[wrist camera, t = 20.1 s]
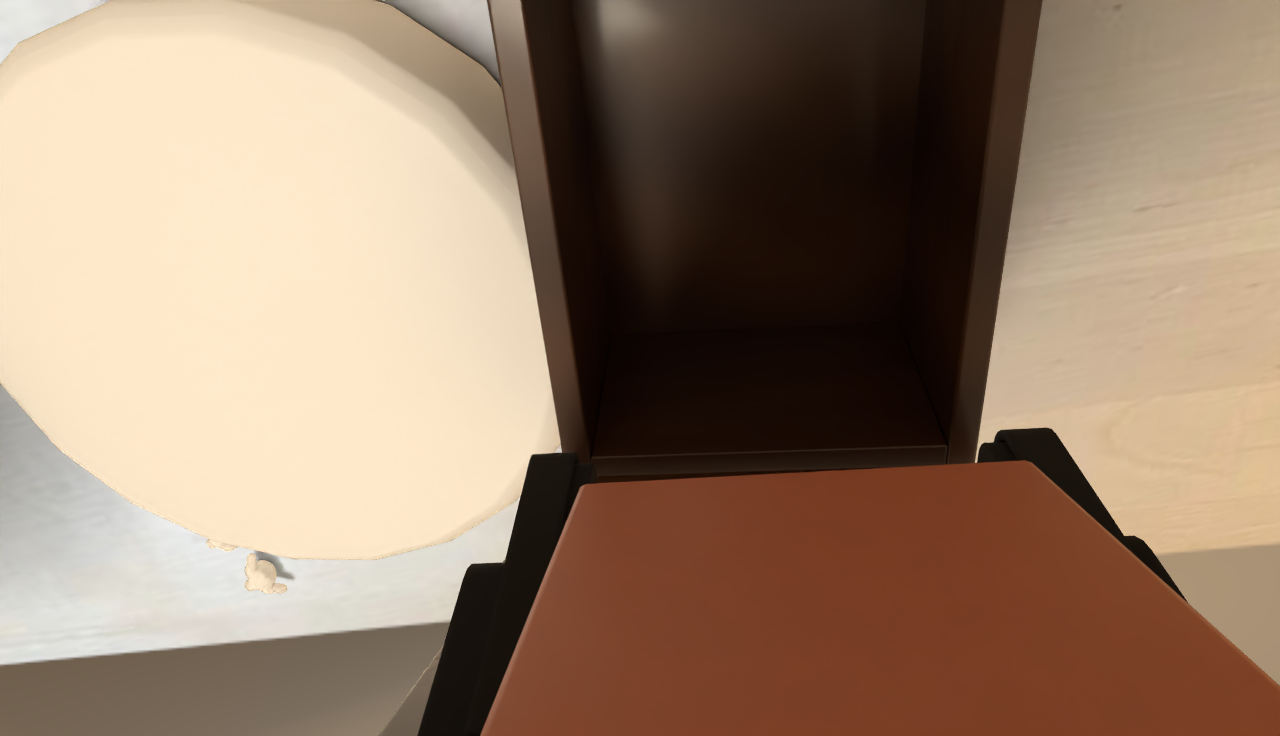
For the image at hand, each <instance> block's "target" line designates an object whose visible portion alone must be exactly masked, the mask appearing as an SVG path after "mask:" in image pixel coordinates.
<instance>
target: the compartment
mask: <svg viewBox="0 0 1280 736" xmlns="http://www.w3.org/2000/svg"><path fill="white" fill-rule="evenodd" d="M487 3H488V9H489V15H490V21H491V27H492V33H493V39H494V45H495V51H496V57H497V63H498V69H499V75H500V81H501V87H502V93H503V99H504V105H505V111H506V117H507V123H508V129H509V135H510V141H511V147H512V153H513V159H514V165H515V171H516V177H517V183H518V189H519V195H520V201H521V208H522V214H523V220H524V226H525V232H526V238H527V244H528V250H529V256H530V262H531V268H532V274H533V280H534V286H535V292H536V298H537V304H538V310H539V316H540V322H541V328H542V334H543V340H544V346H545V352H546V358H547V364H548V370H549V376H550V382H551V388H552V394H553V400H554V406H555V412H556V418H557V424H558V430H559V436H560V442H561V448H562V453H566V452H576V453H577V454H578V457H579V460H580V464H581V463H594V464H595V467H596V472H597V476H616V475H648V474H680V473H712V472H744V471H776V470H808V469H840V468H872V467H904V466H930V465H949V464H968V463H975V458H976V451H977V444H978V437H979V430H980V423H981V417H982V410H983V403H984V396H985V389H986V382H987V376H988V369H989V362H990V355H991V348H992V341H993V335H994V328H995V321H996V314H997V307H998V300H999V294H1000V287H1001V280H1002V273H1003V266H1004V259H1005V253H1006V246H1007V239H1008V232H1009V225H1010V218H1011V212H1012V205H1013V198H1014V191H1015V184H1016V178H1017V171H1018V164H1019V157H1020V150H1021V143H1022V137H1023V130H1024V123H1025V116H1026V109H1027V102H1028V96H1029V89H1030V82H1031V75H1032V68H1033V61H1034V55H1035V48H1036V41H1037V34H1038V27H1039V20H1040V14H1041V7H1042V0H487Z"/></svg>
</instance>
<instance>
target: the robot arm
mask: <svg viewBox="0 0 1280 736" xmlns="http://www.w3.org/2000/svg"><path fill="white" fill-rule="evenodd" d="M1023 460H1025V461H1028V462H1031V463H1033V464H1034V465H1035V466H1036V467H1037V468H1038V469H1039V470H1041V471H1042V472H1043V473H1044V474H1045V475H1046V476H1047V477H1048V478H1049V479H1051V480H1052V481H1053V482H1054V483H1055V484H1056V485H1057V486H1058V487H1059V488H1061V489H1062V490H1063V491H1064V492H1065V493H1066V494H1067V495H1068V496H1069V497H1071V498H1072V499H1073V500H1074V501H1075V502H1076V503H1077V504H1078V505H1079V506H1081V507H1082V508H1083V509H1084V510H1085V511H1086V512H1087V513H1088V514H1089V515H1091V516H1092V517H1093V518H1094V519H1095V520H1096V521H1097V522H1098V523H1099V524H1101V525H1102V526H1103V527H1104V528H1105V529H1106V530H1107V531H1108V532H1109V533H1111V534H1112V535H1113V536H1114V537H1115V538H1116V539H1117V540H1118V541H1119V542H1121V543H1122V544H1123V545H1124V546H1125V547H1126V548H1127V549H1128V550H1129V551H1131V552H1132V553H1133V554H1134V555H1135V556H1136V557H1137V558H1138V559H1139V560H1141V561H1142V562H1143V563H1144V564H1145V565H1146V566H1147V567H1148V568H1149V569H1151V570H1152V571H1153V572H1154V573H1155V574H1156V575H1157V576H1158V577H1159V578H1161V579H1162V580H1163V581H1164V582H1165V583H1166V584H1167V585H1168V586H1169V587H1171V588H1172V589H1173V590H1174V591H1175V592H1176V593H1177V594H1178V595H1179V596H1181V597H1182V598H1183V599H1184V600H1185V601H1186V602H1187V600H1186V599H1185V598H1184V596H1183V595H1182V593H1181V592H1180V591H1179V589H1178V587H1177V586H1176V585H1175V583H1174V582H1173V580H1172V579H1171V577H1170V576H1169V574H1168V573H1167V572H1166V570H1165V569H1164V567H1163V566H1162V565H1161V563H1160V561H1159V560H1158V559H1157V557H1156V556H1155V554H1154V553H1153V551H1152V550H1151V549H1150V548H1149V547H1148V545H1147V544H1146V543H1145V542H1144V541H1143V540H1141V539H1139V538H1137V537H1135V536H1124V535H1123V533H1122V532H1121V530H1120V529H1119V527H1118V526H1117V524H1116V523H1115V521H1114V520H1113V518H1112V517H1111V515H1110V514H1109V512H1108V511H1107V509H1106V508H1105V506H1104V505H1103V503H1102V502H1101V500H1100V499H1099V497H1098V496H1097V494H1096V493H1095V491H1094V490H1093V488H1092V487H1091V485H1090V484H1089V482H1088V481H1087V479H1086V478H1085V476H1084V475H1083V473H1082V472H1081V470H1080V469H1079V467H1078V466H1077V464H1076V463H1075V461H1074V460H1073V458H1072V457H1071V455H1070V454H1069V452H1068V451H1067V449H1066V448H1065V446H1064V445H1063V443H1062V442H1061V440H1060V439H1059V437H1058V436H1057V434H1056V433H1055V432H1054V431H1053V430H1052V429H1050V428H1031V429H1012V430H1000V431H999V432H997V434H996V436H995V439H994V443H983V444H982V445H981V447H980V449H979V454H978V461H977V463H986V462H1005V461H1023ZM596 483H598V479H597V472H596V467H595V464H594V463H581V464H580V460H579V457H578V454H577V453H576V452H566V453H547V454H533V455H532V456H531V458H530V460H529V464H528V468H527V472H526V477H525V481H524V485H523V489H522V493H521V497H520V501H519V506H518V510H517V514H516V518H515V522H514V526H513V530H512V535H511V539H510V543H509V547H508V551H507V555H506V559H505V563H482V564H471V565H470V566H469V567H468V568H467V571H466V573H465V576H464V578H463V581H462V585H461V588H460V592H459V595H458V598H457V602H456V605H455V609H454V612H453V615H452V619H451V622H450V626H449V629H448V633H447V636H446V639H445V643H444V646H443V650H442V653H441V656H440V660H439V663H438V667H437V670H436V673H435V677H434V680H433V684H432V687H431V690H430V694H429V697H428V701H427V704H426V707H425V711H424V714H423V718H422V721H421V724H420V728H419V731H418V735H417V736H480V735H481V732H482V730H483V727H484V725H485V722H486V720H487V717H488V715H489V712H490V710H491V707H492V705H493V702H494V700H495V698H496V695H497V693H498V690H499V688H500V685H501V683H502V680H503V678H504V675H505V673H506V670H507V668H508V665H509V663H510V660H511V658H512V655H513V653H514V650H515V648H516V645H517V643H518V640H519V638H520V635H521V633H522V630H523V628H524V625H525V623H526V620H527V618H528V616H529V613H530V611H531V608H532V606H533V603H534V601H535V598H536V596H537V593H538V591H539V588H540V586H541V583H542V581H543V578H544V576H545V573H546V571H547V568H548V566H549V563H550V561H551V558H552V556H553V553H554V551H555V548H556V546H557V543H558V541H559V538H560V536H561V534H562V531H563V529H564V526H565V524H566V521H567V519H568V516H569V514H570V511H571V509H572V506H573V504H574V501H575V499H576V496H577V494H578V491H579V489H580V487H581V486H583V485H585V484H596ZM1187 603H1188V602H1187ZM1188 604H1189V603H1188Z"/></svg>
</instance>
